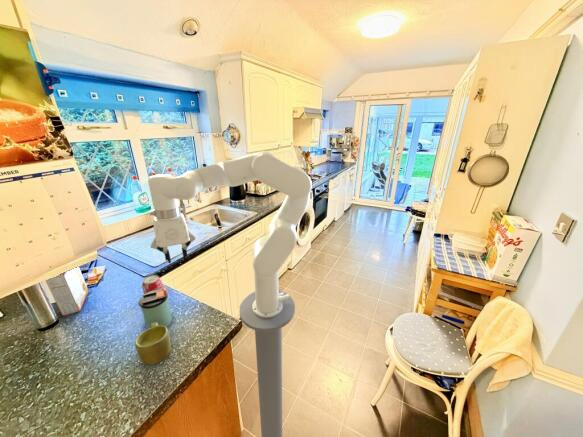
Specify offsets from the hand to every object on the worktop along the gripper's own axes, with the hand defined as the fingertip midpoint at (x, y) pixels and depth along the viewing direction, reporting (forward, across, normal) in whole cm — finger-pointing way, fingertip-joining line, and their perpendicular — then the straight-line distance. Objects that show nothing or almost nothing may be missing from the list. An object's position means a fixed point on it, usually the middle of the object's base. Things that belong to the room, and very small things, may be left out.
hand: (177, 259), depth 85 cm
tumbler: (+25, -10, 0) cm, 27 cm away
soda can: (+26, -11, +13) cm, 31 cm away
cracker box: (+26, -41, +28) cm, 56 cm away
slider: (+13, -7, 0) cm, 15 cm away
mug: (+26, -11, -13) cm, 31 cm away
